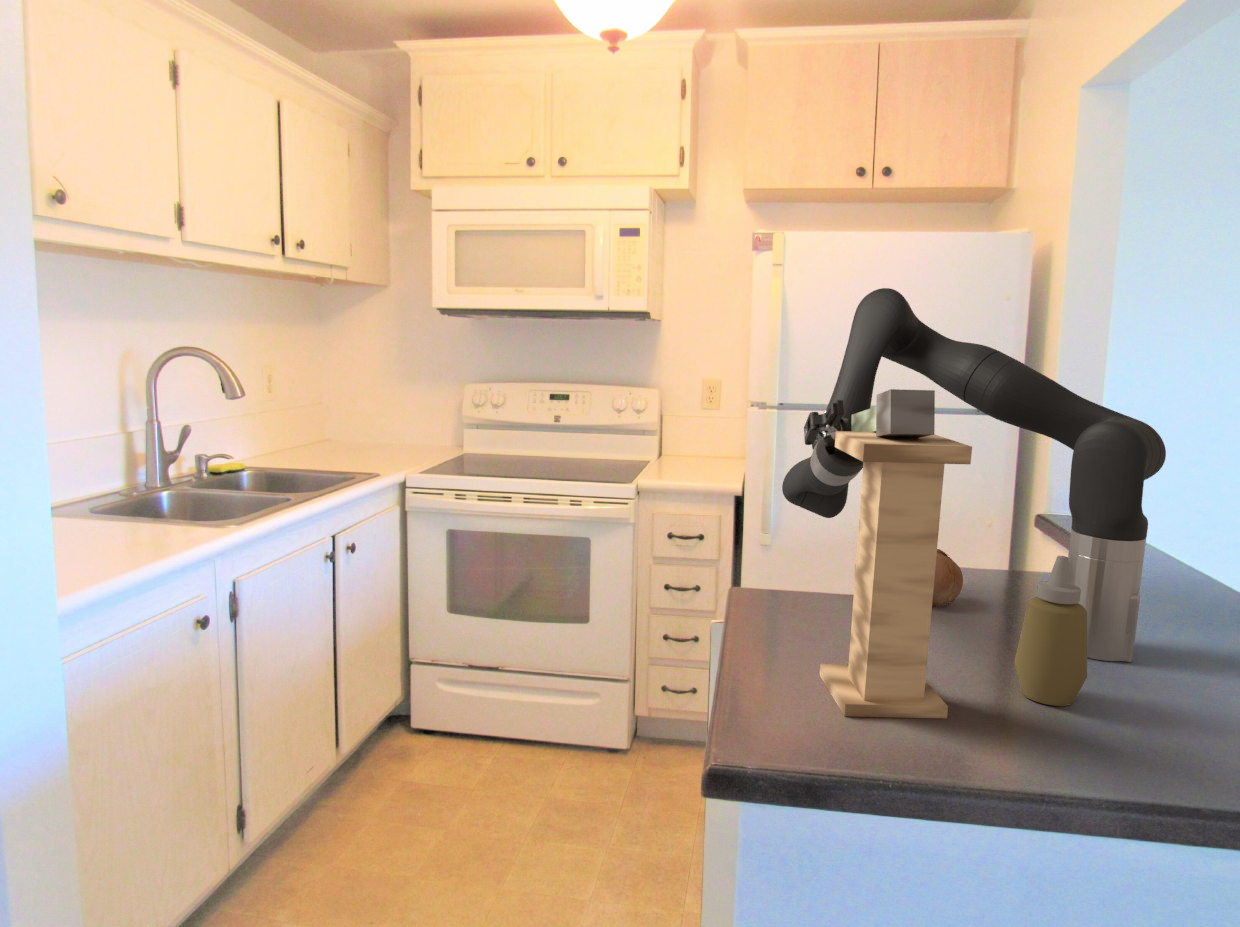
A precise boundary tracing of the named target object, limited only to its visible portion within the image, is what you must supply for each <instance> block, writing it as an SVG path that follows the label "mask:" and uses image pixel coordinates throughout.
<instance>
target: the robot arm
mask: <svg viewBox="0 0 1240 927" xmlns="http://www.w3.org/2000/svg"><path fill="white" fill-rule="evenodd" d="M882 357H883V358H884V359H886V360H889V361H891V362H894V363H897V364H898V365H900V366H904V367H906V368H908V369H911V370H913V371H915V372H917V373H918V374H920V375H923V376H925V377H926V378H927V379H929V380H930V381H932V382H933V383H935V384H936V385H937V386H939V387H940V388H942V389H943V390H945V391H947V392H949V393H950V394H951V395H953V396H955V397H956V398H958V399H959V400H961V401H962V402H964V403H966V404H968V405H970V406H971V407H973V408H975V409H976V410H978V411H979V412H981V413H983V414H985V415H987V416H989V417H991V418H992V419H994V420H997V421H1000V422H1003V423H1006V424H1009V425H1010V426H1011V425H1012V426H1014V427H1017V428H1020V429H1023V430H1027V431H1029V432H1030V431H1031V432H1033V433H1036V434H1040V435H1043V436H1045V437H1047V438H1051V439H1052V440H1054V441H1057V442H1059V443H1060V444H1062V445H1064V446H1066V447H1068V448H1069V449H1071V450H1073V451H1072V458H1071V465H1070V479H1069V492H1068V493H1069V495H1068V508H1069V512H1070V514H1071V527H1070V528H1071V529H1070V539H1069V546H1068V555H1067V557H1068V561H1069V569H1070V576H1071V584H1072V585H1075V586H1077V587H1079V588H1080V590H1081V594H1080V602H1078V603H1079V604H1080V605H1082V606H1083V607H1084V608H1085V609H1086V611H1087V659H1088V658H1089V659H1094V660H1100V661H1109V662H1120V661H1121V662H1128V663H1133V655H1134V650H1135V642H1136V635H1137V634H1136V633H1137V625H1138V620H1139V618H1138V617H1139V610H1140V609H1139V608H1140V604H1141V594H1140V593H1141V591H1140V590H1141V582H1142V577H1143V576H1142V574H1143V568H1144V567H1143V566H1144V559H1145V552H1146V545H1147V544H1146V542H1147V536H1148V529H1149V520H1148V518H1147V516H1146V515H1145V514H1144V512H1143V494H1144V493H1143V492H1144V485H1145V484H1144V482H1145V480H1148V479H1150V478H1152V477H1153V476H1155V475H1156V474H1157V473H1159V471H1160V470H1161V469H1162V467H1163V465H1164V464H1165V462H1166V457H1167V456H1166V455H1167V452H1166V451H1167V450H1166V445H1165V443H1164V441H1163V438H1162V437H1161V436H1160V434H1159V433H1158V432H1157V430H1155V428H1153V427H1152V426H1151V425H1149V424H1148V423H1146V422H1144V421H1142V420H1140V419H1137V418H1134V417H1132V416H1129V415H1125V414H1123V413H1121V412H1118V411H1115V410H1113V409H1111V408H1107V407H1105V406H1103V405H1100V404H1098V403H1096V402H1093V401H1091V400H1089V399H1086V398H1084V397H1082V396H1080V395H1078V394H1077V393H1075V392H1073V391H1071V390H1069V389H1068V388H1066V387H1065V386H1063V385H1062V384H1060V383H1058V382H1056V380H1053V379H1051V378H1050V377H1048V376H1046V375H1045V374H1042V373H1041V372H1040V371H1037V370H1035V369H1033V368H1032V367H1030V366H1028V365H1026V364H1024V363H1023V362H1022V361H1019V360H1018V359H1015V358H1014V357H1012V356H1009V355H1008V354H1006V353H1004V352H1002V351H1000V350H997V349H995V348H993V347H990V346H987V345H985V344H980V343H973V342H964V341H959V340H955V339H951V338H950V337H946V336H945V335H942V334H941V333H939V332H938V331H937V330H935V329H932V327H930V326H928V325H927V324H926V323H924V322H922V320H921V319H919V317H917V315H916V314H915V313H914V311H913V310H912V308H911V306H910V304H909V302H908V300H907V299H906V298H905V296H904V295H903V294H901V292H899V291H898V290H896V289H893V288H891V287H890V288H889V287H887V288H885V287H883V288H878V289H875V290H873V291H871V292H869V293H868V294H866V295H865V296H864V297H863V298H862V299H861V300H860V301H859V303H858V305H857V307H856V309H855V312H854V316H853V320H852V323H851V328H850V332H849V337H848V341H847V345H846V347H845V351H844V354H843V359H842V362H841V365H840V366H841V367H840V368H839V373H838V375H837V380H836V382H835V385H834V388H833V391H832V395H831V397H830V399H829V402H828V405H827V406H826V409H825V410H824V411H823V413H821V414H820V413H819V412H818V411H810V412H809V414H808V417H807V419H806V422H805V424H804V426H803V436H804V445H806V446H811V448H812V453H811V456H810V457H807V458H805V459H803V460H801V461H799V462H797V463H796V464H795V465H793V466H792V467H791V468H790V469H789V470H788V472H787V473H786V475H785V476H784V478H783V480H782V486H781V488H782V489H781V491H782V495H783V496H784V498H785V499H786V501H788V502H789V503H791V505H794V506H797V507H799V508H802V509H804V510H806V511H808V512H811V513H813V514H815V515H817V516H821V517H823V518H827V519H832V518H834V517H836V516H838V515H839V514H840V513H841V512H843V509H844V508H845V506H846V504H847V500H848V495H849V493H848V492H849V483H850V482H851V481H852V480H853V479H855V477H857V476H858V475H859V474H860V472H861V471H863V462H862V461H860V460H859V459H857V458H855V457H853V456H851V455H849V454H847V453H845V452H843V451H842V450H840V449H838V448H836V447H835V435H836V431H851V423H852V415H853V414H856V413H858V412H861V411H864V410H867V409H870V408H872V407H871V405H872V400H873V394H874V393H873V391H874V387H875V381H876V376H877V372H878V369H879V365H880V363H881V359H882Z"/></svg>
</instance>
